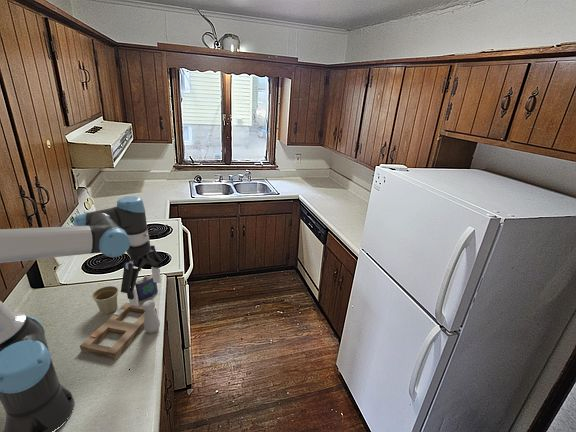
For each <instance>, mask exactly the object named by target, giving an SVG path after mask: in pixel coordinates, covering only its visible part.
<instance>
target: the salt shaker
mask: <svg viewBox="0 0 576 432" xmlns="http://www.w3.org/2000/svg"><path fill="white" fill-rule="evenodd" d="M141 305H142V308H143V310H144V311H145V317H144V328H143V329H144V331H145V332H146V333H147V334H150V333H151V334H152V333H153V334H154V333H157V332H158V330H159V328H160V326H161V322H160V319H159V316H158V315H157V313H156V312H155V309H154V308H156V303H155V301H154V300H151V299H149V300H146V301H144V302H143V303H142V304H141ZM151 334H150V335H151Z"/></svg>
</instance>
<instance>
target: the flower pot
mask: <svg viewBox="0 0 576 432" xmlns="http://www.w3.org/2000/svg"><path fill="white" fill-rule="evenodd" d="M118 293H119V287H117V286H114V285H107V286H103V287H100V288H97V289H96V290H95V291H93V293H92V294H91V298H92V299H93V300H94V302H95V303H96V305H97V308H98V310H99V312H100V314H102V315H109V314H112V313H115V312H116V311H117V310H118Z"/></svg>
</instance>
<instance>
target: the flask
mask: <svg viewBox="0 0 576 432" xmlns="http://www.w3.org/2000/svg"><path fill="white" fill-rule="evenodd" d="M135 289H136V293H137V299H138V302H143V301H145V300H147V299H149V298H151V297H152V296H154V295H157V294H158V292H159V290H158V284H157V283H156V282H153V275H152V274H150V275H149V276H147V274H145V275H144V277H142V279H138V280H136V283H135Z"/></svg>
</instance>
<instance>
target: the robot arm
mask: <svg viewBox="0 0 576 432" xmlns="http://www.w3.org/2000/svg"><path fill="white" fill-rule="evenodd" d="M146 215H147V214H146V208H145V205H144V201H143V199H142V198H141V197H139V196H136V195H129V196H123V197H120V198H119V199H117V201H116V206H113V207H111V208H110V207H109V208H106V209H105V208H104V209H99V210H95V211H90V212H89V211H88V212H84V213H81V214H77V215H75V216H74V217H73V223H74V225H73V226H69V225H68V226H52V227H50V226H49V227H26V228H6V229H5V228H3V229H1V228H0V264H3V263H12V262H22V261H31V260H41V259H52V258H60V257H61V258H62V257H70V256H80V255H81V256H82V255H89V254H103V255H104V256H106V257H110V258H118V257H120V256H123V255H124V254H127V255H128V257H129V261H128V262H124V263H123V265H122V267H123V274H122V280H121V286H120V292H121V293H123V294H126V295H127V299H128V300H129V301H128V302H129V303H130V305H134V306H138V305H140V304H139V300H138V296H137V291H136V286H135V283H136V282H137V281H138V280H137V279H138V276H139V273H140V272H141V270H142V268H143V267H144V266H145V265H147V264H149V265H150V266H151V268H150V270H151V275H153V282H156V283H158V284H160V283H162V280H161V271H160V268H162V266H163V264H162V263H163V259H162V258H161V256H160V254H159V253H158V251H157V250H156V247H155V245H153V244H151V241H150V236H149V230H148V224H147V216H146ZM51 356H52V355H51V352H50V349H49V345H48V341H47V339H46V334H45V329H44V326H43V325H42V324H41V323H40V321H39V319H37V318H35V317H33V316H30V315H26V314H25V312H23V311H13V310H11V309H10V308H9V306H7V305H6V304H5V303H4V302H2V300H0V402H1V404H2V407H3V408H4V411H5V413H6V414H5V415H6V416H5V423H4V424H5V425H4V432H52V431H54V430H55V429H57V428H58V427H60V426H61V425H62V424H63V423H64V422H65V421H66V420H67V418H68V417H69V416H70V414H71V412H72V410H73V411H74V409H73V407H74V408H75V399H74V396H73V394H72V392H71V391H70V390H69V389H68V388H66V387H65V386H64V385H62V384H61V383H60V381H59V378H58V377H59V376H58V375H57V373H56V370H55V366H54V363H53V361H52V357H51ZM72 413H73V412H72ZM71 415H72V414H71ZM70 417H71V416H70ZM70 417H69V418H70ZM67 421H68V420H67ZM67 421H66V422H67Z"/></svg>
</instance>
